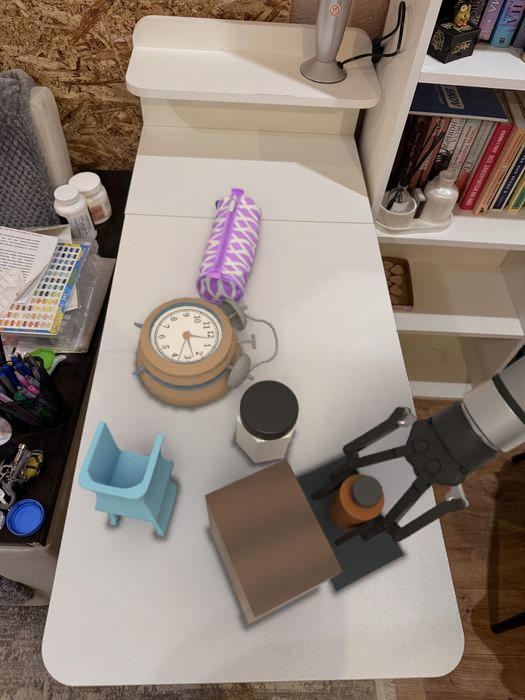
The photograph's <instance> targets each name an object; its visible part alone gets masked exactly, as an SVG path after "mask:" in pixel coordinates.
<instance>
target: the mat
mask: <svg viewBox="0 0 525 700" xmlns="http://www.w3.org/2000/svg"><path fill="white" fill-rule="evenodd" d="M345 462H346V456H345V455H344V456H342V457H340V458H337V459H336V460H335V459H334V460H333V461H331V462H329V463H326V464H325V465H322V466H320V467H318V468H315V469H314V470H311V471H309V472H307V473H304V474H303V475H301V476H299V477H296V478H297V480H298V482H299V484H300V486H301V488H302V490H303V492H304V494H305V496H306V498H307V500H308V502H309V504H310V506H311V508H312V510H313V512H314V514H315V516H316V518H317V520H318V522H319V524H320V526H321V528H322V530H323V532H324V534H325V536H326V538H327V540H328V542H329V544H330V546H331V548H332V550H333V552H334V554H335V556H336V558H337V560H338V562H339V564H340V566H341V568H342V570H343V571H342V572H341V573H339V574H338V575H336V576H335V577H333V578H331V579H330V582H331V584H332V586H333V587H334V590H335V591H336V592H338V591H340V590H342V589H344V588H345V587H347V586H349V585H351V584H353V583H355V582H357V581H359V580H360V579H362V578H364V577H366V576H368V575H370V574H371V573H373V572H375V571H377V570H378V569H379V570H380V569H381V568H382V567H384V566H386V565H388V564H390V563H392V562H394V561H395V560H397V559H399V558H401V557H403V556H404V555H405V554H404V552H403V550H402V548H401V547H400V545H399V542H394V541H393V540H392V538H391V536H390V535H389V534H388V533H385V532H384V533H382V534H380V535H378V536H377V537H375V538H373V539H371V540H369V541H363V540H362V538H361V536H360V535H359V536H357V537H356V538H354V539H352V540H350V541H349V542H347V543H344V544H342V545H340V546H336V544H335V542H334V541H335V540H337V539H338V538H340V537H342V536H343V535H345V534H347V533H349V532H347V531H344V530H341V529H340V528H338V527H337V526H336V525H335V524H334V523H333V521H332V519H331V517H330V514H329V505H330V501H331V499H332V498H333V496H334V495H335V494H336V492H337V491H338V489H337V490H335V491H334V492H332V493H331V494H329V495H328V496H326V497H325V498H322V499H318V500H314V501H313V499H312V497H311V495H312V494H314V493H315V492H317V491H318V490H320V489H321V488H323V487H324V486H326V485H327V484H329V483H330V482H331V480H330V478H329V477H328V476H329V474H330V473H331V472H332V471H334V470H335V469H337V468H338V467H340V466H341V465H343V464H344V463H345ZM380 515H383V514H382V513H381V512H380V513H379V514H378V515H377V516H380ZM377 516H376V517H377Z"/></svg>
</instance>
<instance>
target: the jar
mask: <svg viewBox="0 0 525 700" xmlns="http://www.w3.org/2000/svg"><path fill="white" fill-rule="evenodd" d="M299 411H300V406H299V401H298V397H297V395H296V394H295V393H294V391H293V390H292V389H291V388H290V387H289V386H287V385H286V384H284V383H283V382H280V381H277V380H273V379H272V380H271V379H269V380H268V379H267V380H266V379H265V380H260V381H257V382H254V383H253V384H252V385H250V386H249V387H248V388H247V389H245V391H244V392H243V394H242V395H241V399H240V402H239V412H238V414H237V417H236V429H235V431H236V432H235V433H236V435H235V442H236V443H237V445H238V446H239V447H240V448H241V449H242V450H243V451H244V452H245V454H246V455H247V456H248V457H249V458H250V460H252V463H255V464H258V463H262V462H269V461H274V460H275V461H276V460H280V459H284V457H285V456H286V452H287V450H288V446H289V443H291V440H292V437H293V435H294V431H295V428H296V424H297V421H298V418H299V414H300V413H299Z"/></svg>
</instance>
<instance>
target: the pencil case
mask: <svg viewBox="0 0 525 700" xmlns="http://www.w3.org/2000/svg"><path fill="white" fill-rule="evenodd" d="M230 190H231V192H230V193H231V194H228V195H224V196H223V197H221V198H220V199H217V200H215V203H214V204H215V205H214V206H215V209H216V214H215V217H214V220H213V224H212V227H211V231H210V234H209V237H208V239H207V242H206V246H205V249H204V253H203V256H202V261H201V263H200V265H199V273H198V276H197V278H196V290H197V293H198V295H200V297H201V298H202V300H205V301H208V302H210V303H212V304H214V305H217V306H218V305H220V306H222V305H221V304H222V301H223V300H225V299H231V300H234V301H235V302H236V303H238V304H239V303H240V302H241V301H242V300H243V297H244V290H245V288H246V285H247V282H248V279H249V276H250V274H251V272H252V268H253V264H254V261H255V257H256V252H257V248H258V242H259V236H260V235H259V234H260V226H261V219H262V210H261V207H260V206H259V205H258V203H257V202H256V201H255V200H254V199H252V198H251V197H249V196H246V195H245V190H244V189H243V188H239V187H231V188H230Z"/></svg>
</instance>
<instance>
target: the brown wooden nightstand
mask: <svg viewBox="0 0 525 700" xmlns="http://www.w3.org/2000/svg"><path fill="white" fill-rule="evenodd" d="M297 478H298V477H297V476H296V474H295V472H294V471H293V468H292V467H291V464H290V462H289V460H288V459H287V458H285V459H282V460H280V461H278V462H276V463H274V464H272V465H269V466H267V467H264V468H263V469H261V470H258V471H256V472H253V473H252V474H249V475H247V476H245V477H243V478H240V479H239V480H236V481H233V482H232V483H229V484H227V485H225V486H222V487H220V488H218V489H216V490H214V491H211V492H209V493H207V494H205V495H204V500H205V505H206V512H207V517H208V524H209V531H210V533H211V536H212V538H213V540H214V543H215V545H216V548H217V550H218V553H219V555H220V558H221V560H222V563H223V565H224V568H225V570H226V573H227V575H228V578H229V579H230V583H231V585H232V587H233V590H234V592H235V595H236V598H237V601H238V602H239V605H240V607H241V610H242V612H243V615H244V617H245V619H246V622H247V624H248V625H250V624H252V623H254V622H256V621H258V620H259V619H262V618H263V617H265V616H267V615H269V614H271V613H273V612H274V611H276V610H278V609H280V608H282V607H284V606H286V605H287V604H289V603H292V602H294V601H295V600H297V599H299V598H301V597H303V596H304V595H306V594H308V593H310V592H312V591H315V590H316V589H317V588H319V587H320V586H322V585H324V584H325V583H327V582H328V581H331V578H333V577H335V576H336V575H338V574H339V573H341V572H342V571H343V570H342V568H341V566H340V564H339V562H338V560H337V558H336V556H335V554H334V552H333V550H332V548H331V546H330V544H329V542H328V540H327V538H326V536H325V534H324V532H323V530H322V528H321V526H320V524H319V522H318V520H317V518H316V516H315V514H314V512H313V510H312V508H311V506H310V504H309V502H308V500H307V498H306V496H305V494H304V492H303V490H302V488H301V486H300V484H299V482H298V480H297Z"/></svg>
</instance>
